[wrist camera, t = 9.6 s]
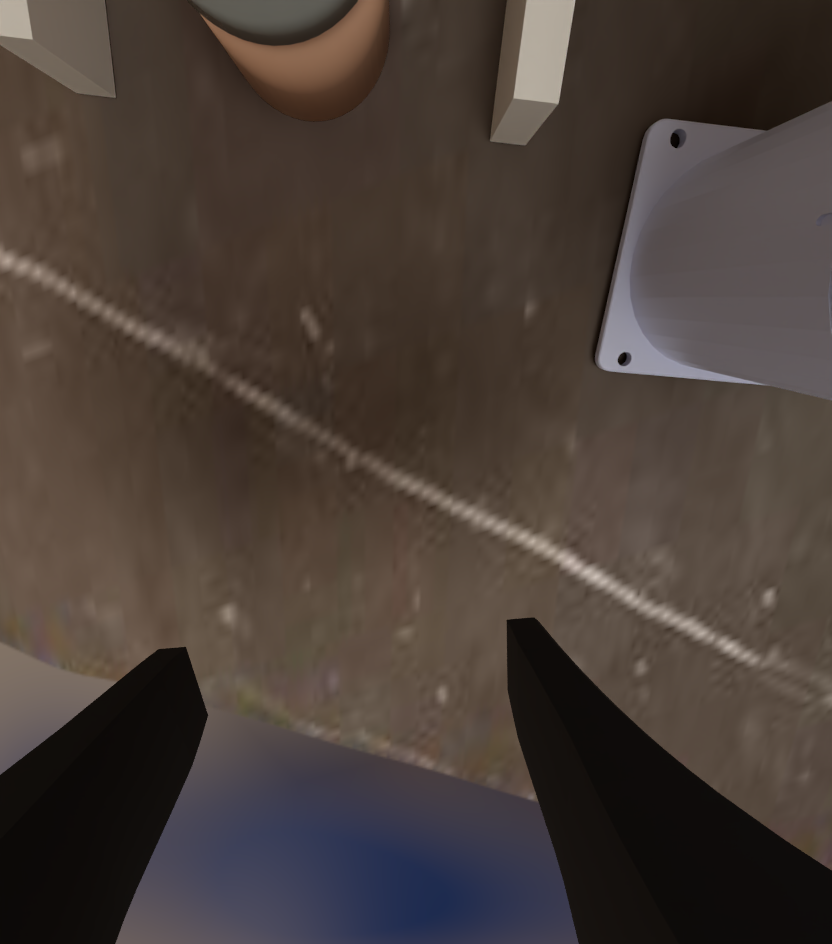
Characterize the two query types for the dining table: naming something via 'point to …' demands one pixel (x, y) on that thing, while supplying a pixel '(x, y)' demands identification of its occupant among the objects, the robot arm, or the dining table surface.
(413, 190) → the dining table surface
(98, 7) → the u-frame with teal panels
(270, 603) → the dining table surface
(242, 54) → the terracotta jar
